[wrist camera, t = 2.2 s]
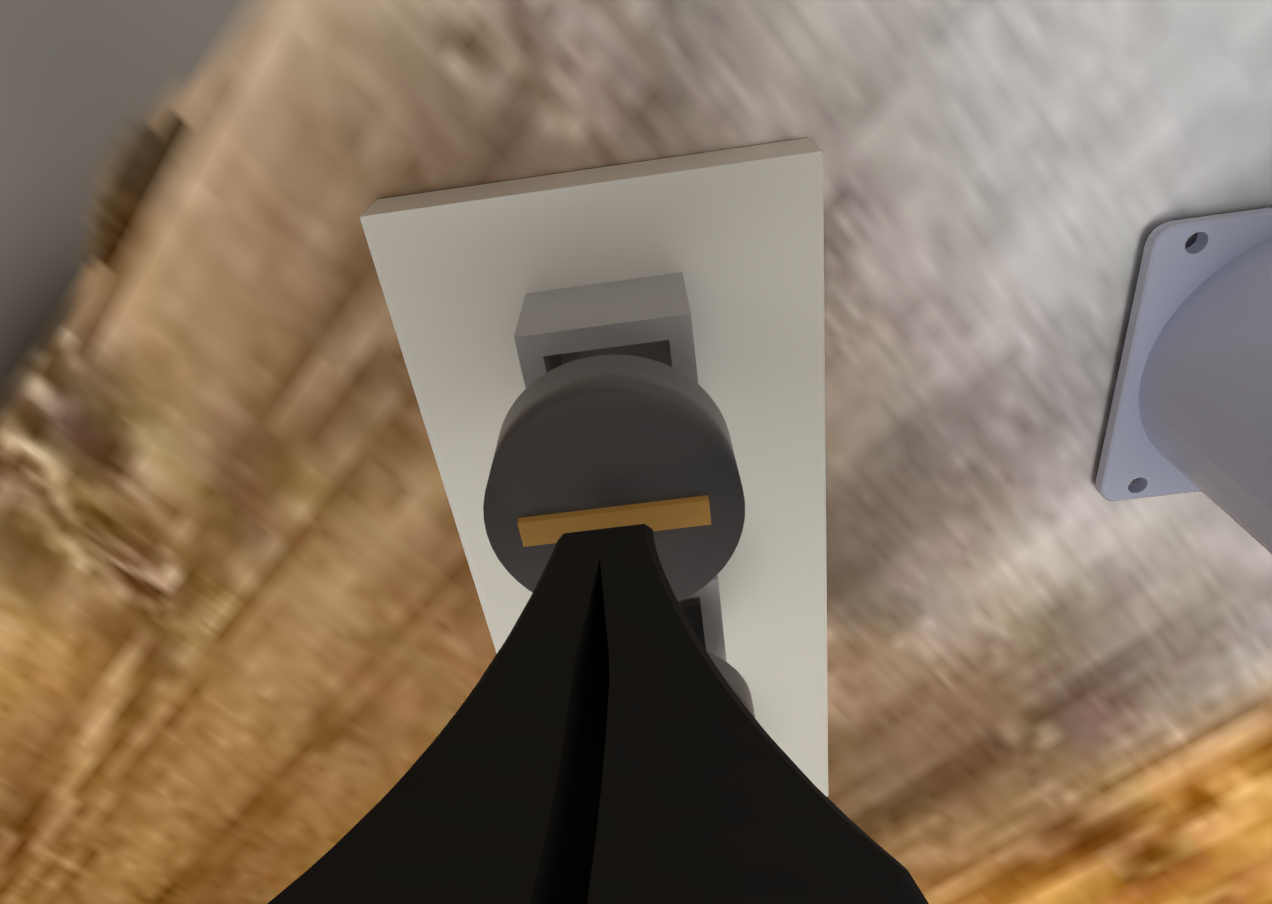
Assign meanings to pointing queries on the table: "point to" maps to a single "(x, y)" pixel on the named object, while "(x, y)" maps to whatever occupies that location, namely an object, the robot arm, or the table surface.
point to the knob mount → (650, 328)
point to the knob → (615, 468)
